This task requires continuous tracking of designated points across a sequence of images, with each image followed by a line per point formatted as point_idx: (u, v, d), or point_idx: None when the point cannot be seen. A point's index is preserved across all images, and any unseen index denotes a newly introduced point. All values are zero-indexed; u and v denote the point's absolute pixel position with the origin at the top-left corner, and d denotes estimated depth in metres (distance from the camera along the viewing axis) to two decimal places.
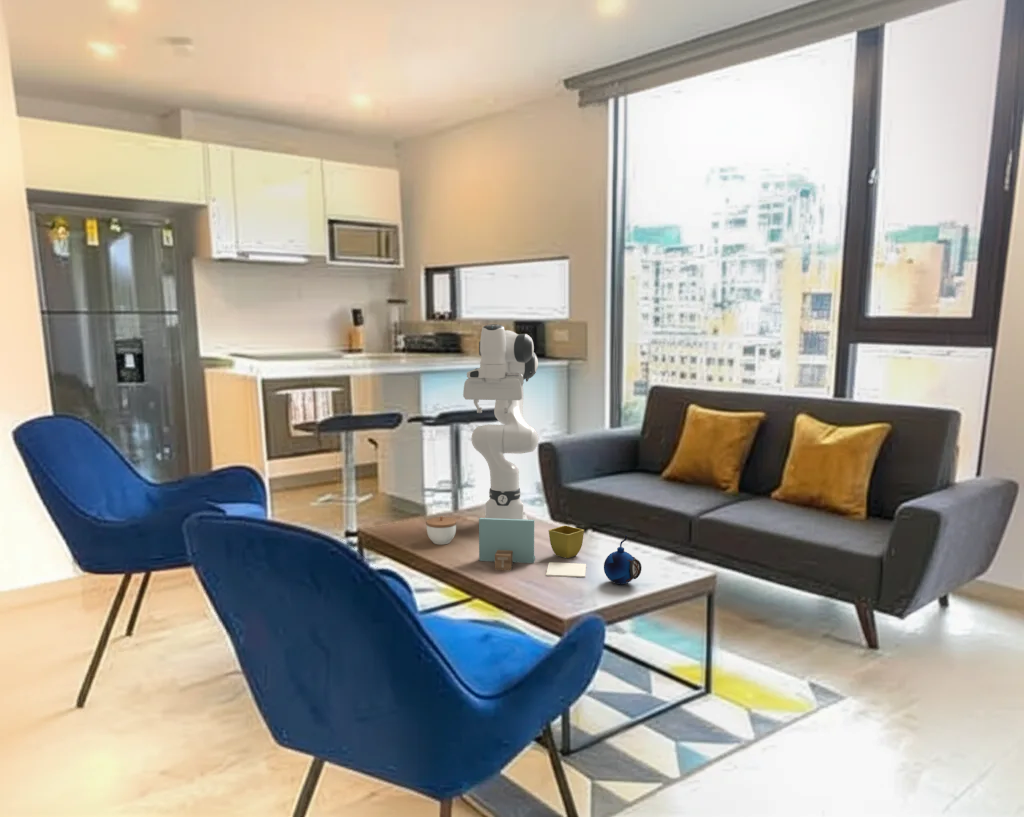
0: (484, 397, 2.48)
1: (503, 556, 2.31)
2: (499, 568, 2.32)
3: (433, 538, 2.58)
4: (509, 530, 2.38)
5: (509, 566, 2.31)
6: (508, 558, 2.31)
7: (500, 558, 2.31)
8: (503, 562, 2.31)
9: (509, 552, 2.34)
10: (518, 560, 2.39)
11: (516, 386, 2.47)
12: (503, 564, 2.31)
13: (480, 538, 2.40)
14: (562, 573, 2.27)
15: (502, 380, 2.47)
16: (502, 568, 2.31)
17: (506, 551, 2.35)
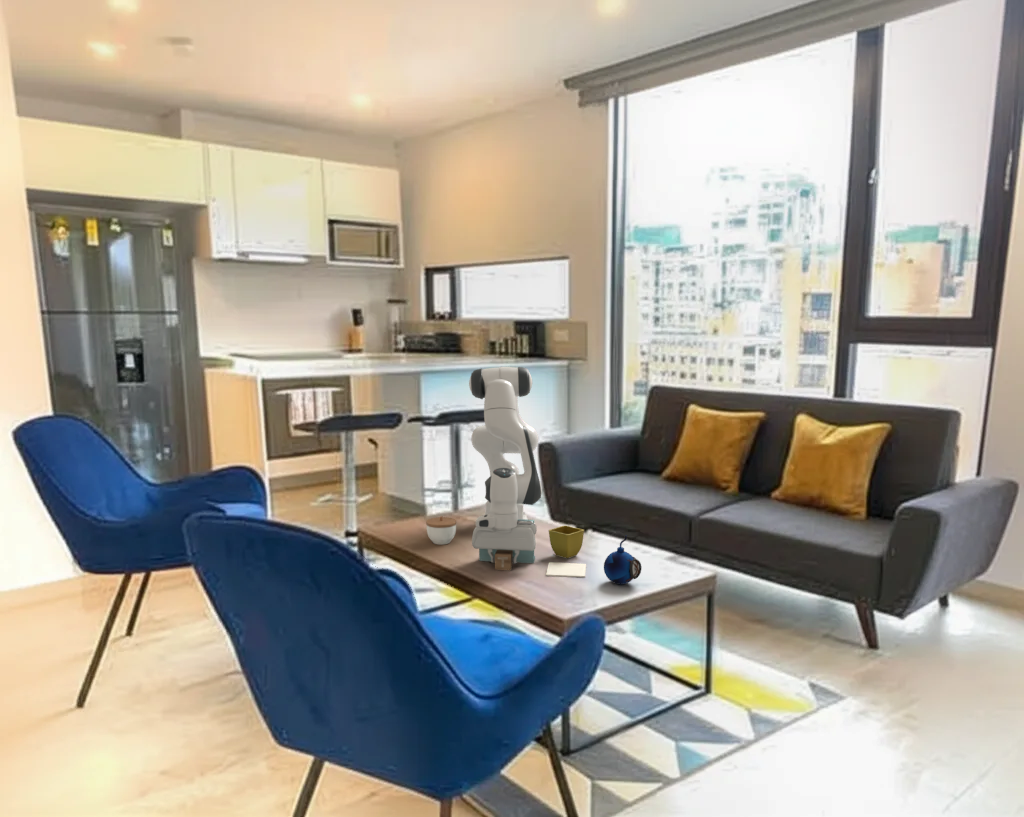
0: (494, 547, 2.32)
1: (503, 556, 2.31)
2: (499, 568, 2.32)
3: (433, 538, 2.58)
4: None
5: (509, 566, 2.31)
6: (508, 558, 2.31)
7: (500, 558, 2.31)
8: (503, 562, 2.31)
9: (509, 552, 2.34)
10: (518, 560, 2.39)
11: (528, 536, 2.30)
12: (503, 564, 2.31)
13: None
14: (562, 573, 2.27)
15: (514, 529, 2.30)
16: (502, 568, 2.31)
17: (506, 551, 2.35)
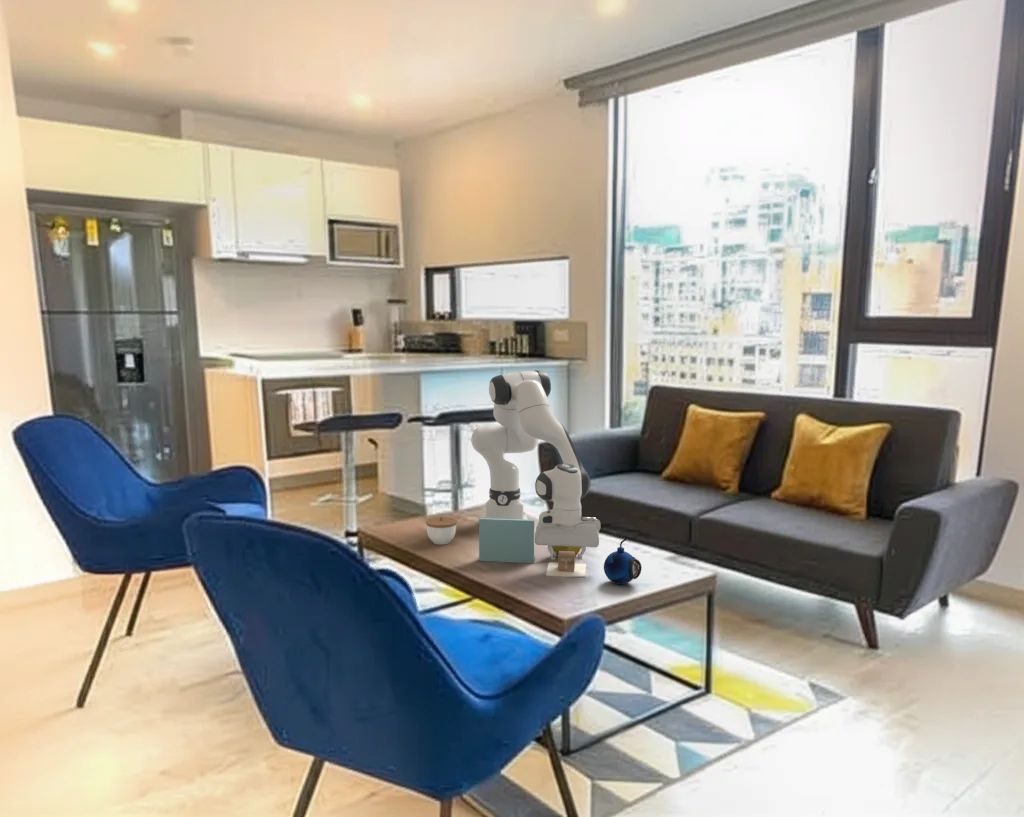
0: (557, 543, 2.29)
1: (567, 557, 2.28)
2: (562, 569, 2.29)
3: (433, 538, 2.58)
4: (509, 530, 2.38)
5: (573, 567, 2.29)
6: (572, 559, 2.28)
7: (563, 559, 2.28)
8: (567, 564, 2.29)
9: (572, 553, 2.31)
10: (518, 560, 2.39)
11: (592, 532, 2.27)
12: (566, 565, 2.29)
13: (480, 538, 2.40)
14: (562, 573, 2.27)
15: (577, 526, 2.28)
16: (565, 569, 2.29)
17: (569, 552, 2.32)
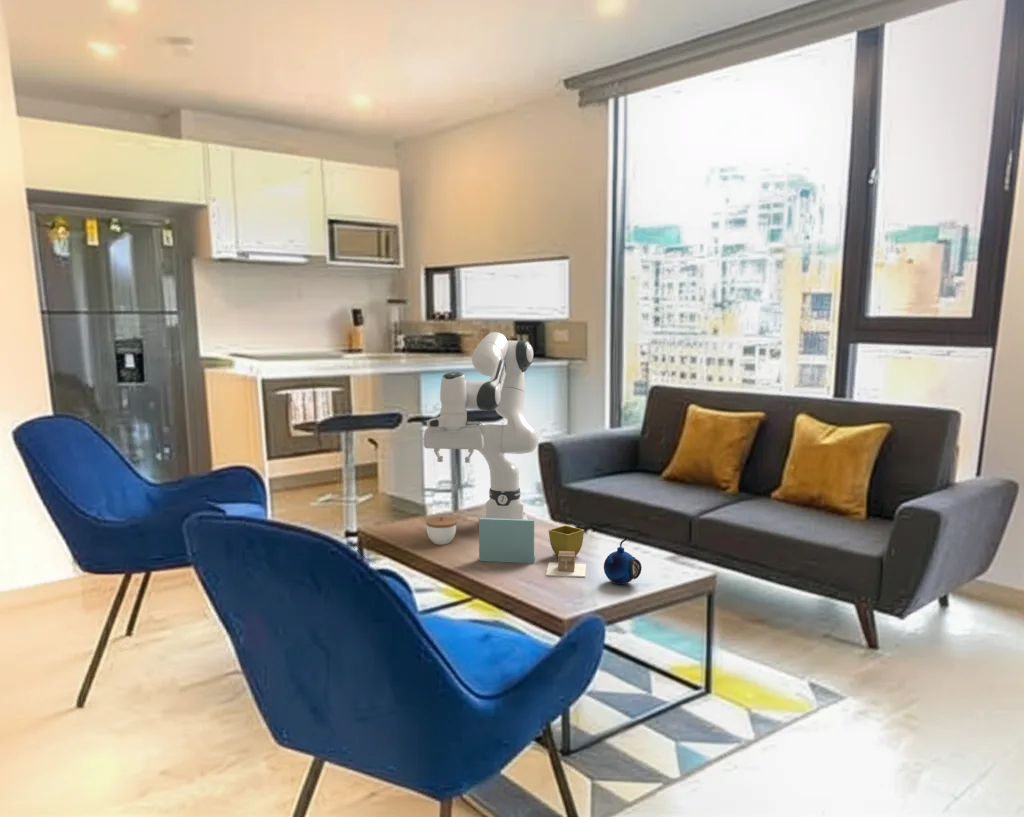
0: (444, 446, 2.45)
1: (567, 557, 2.28)
2: (562, 569, 2.29)
3: (433, 538, 2.58)
4: (509, 530, 2.38)
5: (573, 567, 2.29)
6: (572, 559, 2.28)
7: (563, 559, 2.28)
8: (567, 564, 2.29)
9: (572, 553, 2.31)
10: (518, 560, 2.39)
11: (476, 435, 2.43)
12: (566, 565, 2.29)
13: (480, 538, 2.40)
14: (562, 573, 2.27)
15: (462, 429, 2.44)
16: (565, 569, 2.29)
17: (569, 552, 2.32)
